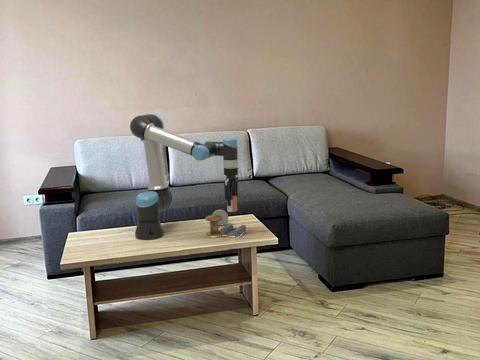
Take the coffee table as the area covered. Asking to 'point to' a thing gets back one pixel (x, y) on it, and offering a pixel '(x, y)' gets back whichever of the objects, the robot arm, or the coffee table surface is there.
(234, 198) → the salmon pink block
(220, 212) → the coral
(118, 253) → the coffee table surface
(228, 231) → the notched board
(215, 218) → the spool
